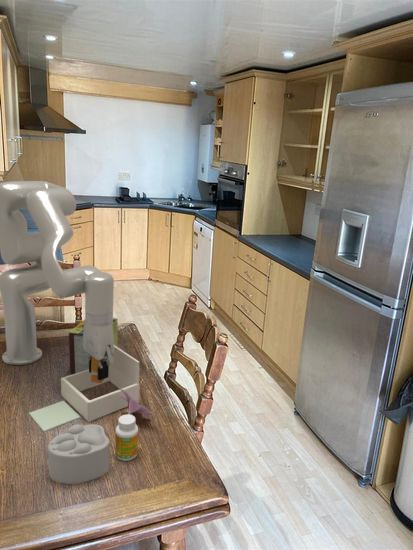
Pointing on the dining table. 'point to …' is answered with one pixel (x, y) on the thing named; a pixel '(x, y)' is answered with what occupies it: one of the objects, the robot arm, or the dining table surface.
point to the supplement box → (95, 370)
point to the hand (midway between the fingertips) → (98, 374)
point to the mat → (54, 416)
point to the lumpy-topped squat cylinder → (79, 454)
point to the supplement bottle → (126, 438)
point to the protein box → (77, 352)
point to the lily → (135, 405)
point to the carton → (120, 375)
